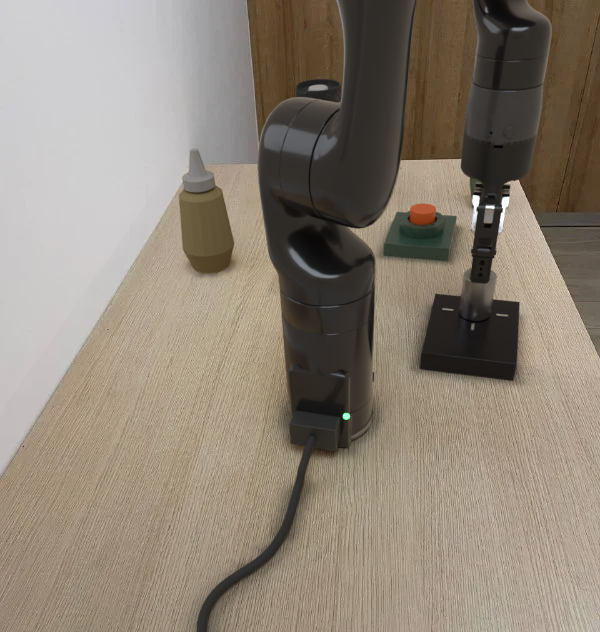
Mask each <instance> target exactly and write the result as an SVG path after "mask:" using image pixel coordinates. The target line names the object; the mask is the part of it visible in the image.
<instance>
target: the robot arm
mask: <svg viewBox="0 0 600 632" xmlns="http://www.w3.org/2000/svg"><path fill="white" fill-rule="evenodd" d="M335 1H336V4H337V5H336V6H337V8H338V12H339V16H340V21H341V30H342V38H343V41H342V42H343V73H342V86H341V103H338V102H332V101H326V100H321V99H314V98H307V97H296V96H295V97H290V98H287V99H285V100H283V101H281V102H280V103H278V104H277V105H276V106H275V107H274V108H273V109H272V111H271V112H270V113H269V115H268V117H267V118H266V120H265V122H264V125H263V128H262V130H261V134H260V138H259V143H258V148H257V149H258V150H257V180H258V181H257V183H258V189H259V190H258V191H259V199H260V205H261V212H262V218H263V225H264V232H265V233H264V234H265V240H266V247H267V252H268V257H269V260H270V262H271V264H272V266H273V268H274V269H275V271H276V273H277V277H278V286H279V301H280V310H281V311H280V312H281V326H282V340H283V353H284V364H285V378H286V390H287V392H286V393H287V400H288V414H287V415H288V422H289V423H288V425H289V427H288V428H289V437H290V444H291V445H295V446H302V447H304V449H303V451H302V454H301V458H300V461H299V464H298V468H297V471H296V476H295V481H294V485H293V488H292V492H291V495H290V499H289V501H288V506H287V510H286V513H285V515H284V518H283V521H282V523H281V526H280V528H279V529H278V531H277V533H276V535H275V536H274V538H273V539H272V541H271V542H270V543H269V545H268V546H267V547H266V548H265V550H263V551H262V552H261V553H260V554H259V555H258V556H257V557H255V558H254V559H253V560H251V561H249V562H248V563H247V564H245V565H244V566H242V567H240V568H239V569H237V570H235V571H234V572H232V573H231V574H230V575H228V576H227V577H225V578H224V579H223V580H222V581H220V582H219V583H218V584H217V585H216V586H214V588H213V589H212V590H211V591H210V592H209V594H208V595H207V596H206V598H205V600H204V601H203V603H202V605H201V607H200V610H199V612H198V616H197V622H196V632H208V622H209V617H210V614H211V611H212V608H213V607H214V605H215V603H216V602H217V601H218V599H219V598H220V597H221V595H223V593H224V592H226V590H228V589H229V588H230V587H231V586H233V585H234V584H236V583H237V582H239V581H241V580H242V579H243V578H245V577H247V576H248V575H250V574H251V573H252V572H255V570H257V569H258V568H260V567H261V566H263V564H265V563H266V562H267V561H268V560H270V558H272V556H273V555H275V553H276V552H277V551H278V550H279V548H280V547H281V545H282V544H283V542H284V540H285V539H286V537H287V535H288V533H289V531H290V529H291V527H292V524H293V521H294V519H295V515H296V511H297V508H298V504H299V501H300V497H301V493H302V490H303V486H304V484H305V483H304V482H305V479H306V473H307V471H308V465H309V462H310V459H311V457H312V454H313V451H314V448H315V449H319V450H326V451H333V452H336V451H337V449H338V447H339V448H340V447H341V448H344V449H345V448H346V449H347V448H349V447H350V445H351V443H352V441H354V440H356V439H358V438H360V437H361V436H362V435H364V434H365V433H366V432H367V431H368V430H369V429H370V427H371V425H372V422H373V417H374V415H373V412H374V411H373V383H375V372H374V345H375V343H374V342H375V311H376V288H377V287H376V286H377V283H376V282H377V281H376V280H377V262H376V261H377V260H376V256H375V254H374V251H373V250H372V248H371V247H370V246H369V244H368V243H366V242H365V241H364V240H363V239H362V238H360V237H359V235H357V234H356V233H355V232H354V231H352V230H351V229H356V230H357V229H358V230H359V229H366V228H369V227H371V226H373V225H374V224H375V223H377V221H378V220H380V219H381V217H382V216H383V214H384V213H385V211H386V210H387V208H388V206H389V204H390V202H391V200H392V197H393V194H394V191H395V188H396V185H397V182H398V177H399V173H400V169H401V163H402V162H401V161H402V155H403V146H404V139H405V138H404V137H405V127H406V115H407V104H408V93H409V84H410V83H409V81H410V69H411V61H412V60H411V59H412V50H413V38H414V28H415V20H416V11H417V5H418V0H335ZM471 1H472V11H473V18H474V25H475V30H476V31H475V32H476V44H475V50H474V51H475V52H474V61H473V71H472V79H471V80H472V81H471V84H470V85H471V86H470V90H469V95H468V98H467V104H466V110H465V111H466V113H465V118H464V120H465V121H464V130H463V139H462V148H461V157H460V170H461V172H462V173H463V175H465V176H466V177H468V178H469V179H470V178H472V179H477V180H479V181H480V182H482V183H475V189H474V194H473V200H471V201H472V202H471V207H472V209H473V211H472V219H471V226H470V232H471V233H472V234H473V235H474V236H473V244H472V246H471V249H470V254H471V258H472V259H471V260H472V261H471V267H470V268H471V275H470V281H471V282H472V283H481V284H487V283H488V282H489V279H490V273H491V270H492V265H493V261H494V260H493V259H495V256H497V251H498V250H497V244H498V237H499V236H500V235H501V234H502V233H503V230H504V222H505V216H506V211H507V210H508V208H509V205H510V196H511V193H510V192H511V183H509V182H516V181H520V180H521V179H523V178H525V177H526V176H528V175H529V174H530V173H531V170H532V166H533V160H534V154H535V148H536V143H537V138H538V137H537V136H538V132H539V125H540V120H541V116H542V110H543V100H544V99H543V98H544V97H543V96H544V82H545V78H546V72H547V66H548V62H549V61H548V60H549V55H550V51H551V50H550V49H551V43H552V35H553V26H552V22H551V20H550V19H549V18H548V17H547V16H546V15H545V14H543V13H541V12H540V11H538V10H536V9H534V7H532V6H531V5H530V3H529V1H528V0H471Z"/></svg>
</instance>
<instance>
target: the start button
mask: <svg viewBox="0 0 600 632" xmlns="http://www.w3.org/2000/svg"><path fill="white" fill-rule="evenodd" d="M409 211H410V222H411V223H414V224H418V225H428V224H432V223H434V222H435V216H436V212H437V207H436V206H435V205H433V204H430V203H422V202H421V203H415V204H413V205H412V206H410V208H409Z"/></svg>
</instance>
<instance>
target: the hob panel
mask: <svg viewBox="0 0 600 632" xmlns="http://www.w3.org/2000/svg"><path fill="white" fill-rule="evenodd" d="M460 298H461V295H453V294H443V293H434V297H433V301H432V304H431V305H432V306H431V309H430V314H429V318H428V323H427V325H426V326H427V327H426V331H425V334H424V338H423V344H422V347H421V352H420V361H419V362H420V363H419V369H420V370H424V371H425V370H427V371H435V372H442V373H450V374H458V375H464V376H465V375H466V376H473V377H481V378H490V379H497V380H504V381H512V382H513V381H514V380H515V375H516V370H517V367H518V352H519V351H518V350H519V349H518V348H519V347H518V346H519V329H520V328H519V325H520V307H521V306H520V304H521V303H520V301H516V300H515V301H514V300H504V299H494V298H493V304H492V310H491V315H490V317H489V318H487V319H486V320H482V321H471V320H467V319H465V318H463V317H462V316H461V315H460V314H459V306H460Z"/></svg>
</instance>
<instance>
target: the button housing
mask: <svg viewBox="0 0 600 632" xmlns="http://www.w3.org/2000/svg"><path fill="white" fill-rule="evenodd" d="M457 219H458V217H457V215H449V214H442V213H441V212H438V211H436V216H435V222H434V223H432V224H428V225H418V224H414V223H411V222H410V210H408V211H405V212H404V211H396V213H395V215H394V217H393V220H392V223H391V225H390V228H389V230H388V234H387V235H386V238H385V241H384V242H383V257H392V258H403V259H415V260H425V261H436V262H437V261H439V262H449V259H450V255H451V249H452V246H453V242H454V238H455V237H454V236H455V231H456V227H457Z"/></svg>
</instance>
